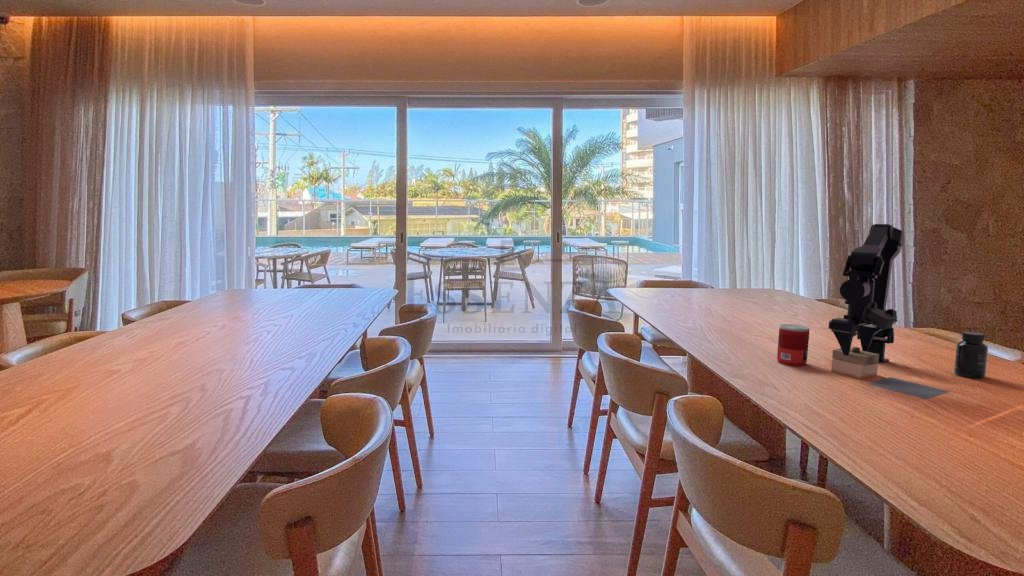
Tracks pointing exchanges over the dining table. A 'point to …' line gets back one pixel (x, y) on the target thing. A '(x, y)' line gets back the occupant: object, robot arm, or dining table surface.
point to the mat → (908, 388)
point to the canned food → (793, 344)
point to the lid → (856, 356)
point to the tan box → (853, 369)
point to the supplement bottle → (971, 356)
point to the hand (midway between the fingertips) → (855, 353)
